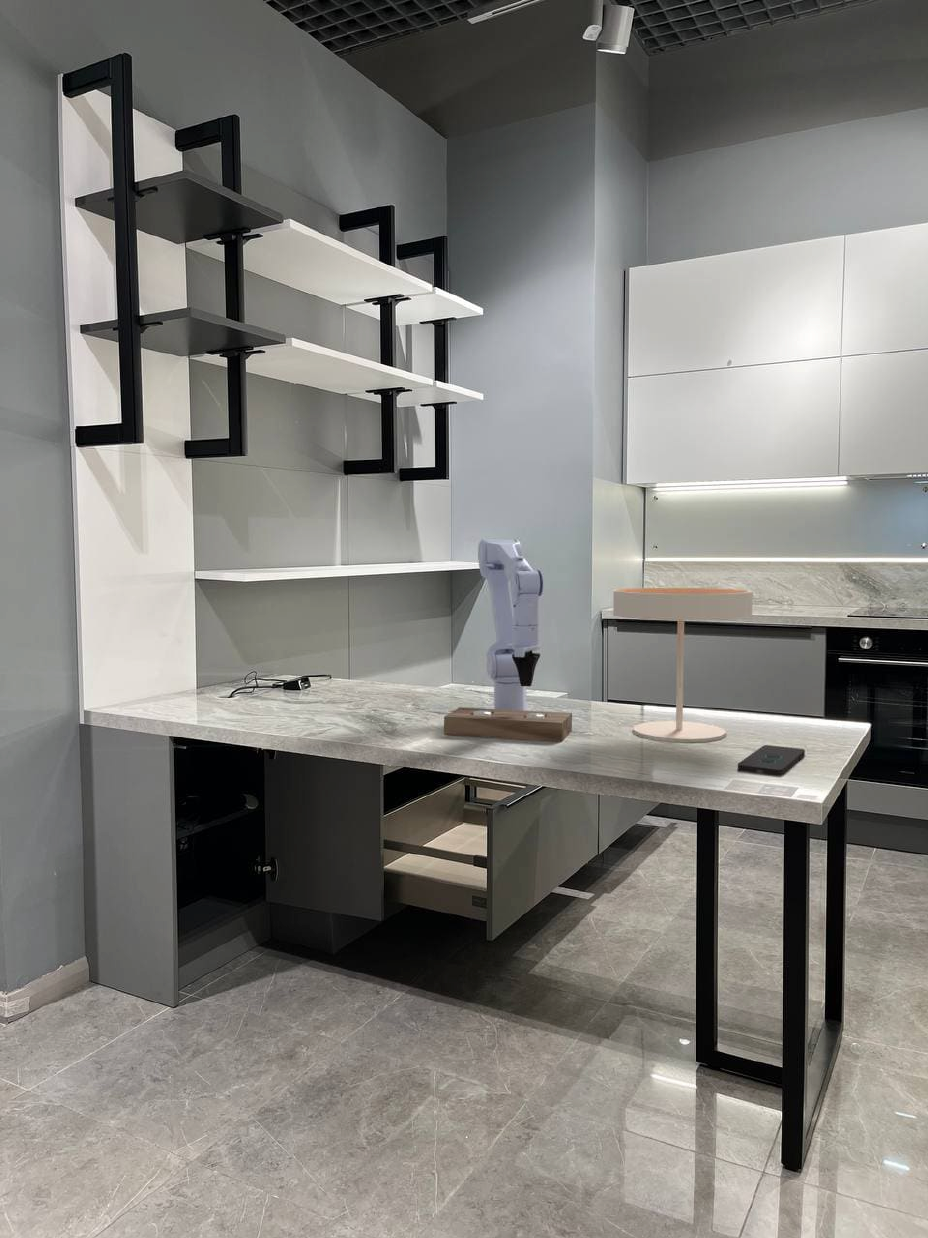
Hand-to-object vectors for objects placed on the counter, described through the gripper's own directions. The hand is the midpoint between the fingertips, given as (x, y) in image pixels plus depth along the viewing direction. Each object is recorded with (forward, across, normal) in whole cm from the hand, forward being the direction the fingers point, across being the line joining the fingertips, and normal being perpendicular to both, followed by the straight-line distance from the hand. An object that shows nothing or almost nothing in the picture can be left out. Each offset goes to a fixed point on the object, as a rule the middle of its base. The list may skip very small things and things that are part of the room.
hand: (526, 686), depth 209 cm
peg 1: (+10, +4, -9) cm, 14 cm away
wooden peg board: (+10, +4, -3) cm, 11 cm away
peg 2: (+10, +4, +3) cm, 11 cm away
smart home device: (+11, +18, +52) cm, 56 cm away
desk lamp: (+10, -6, +33) cm, 35 cm away
